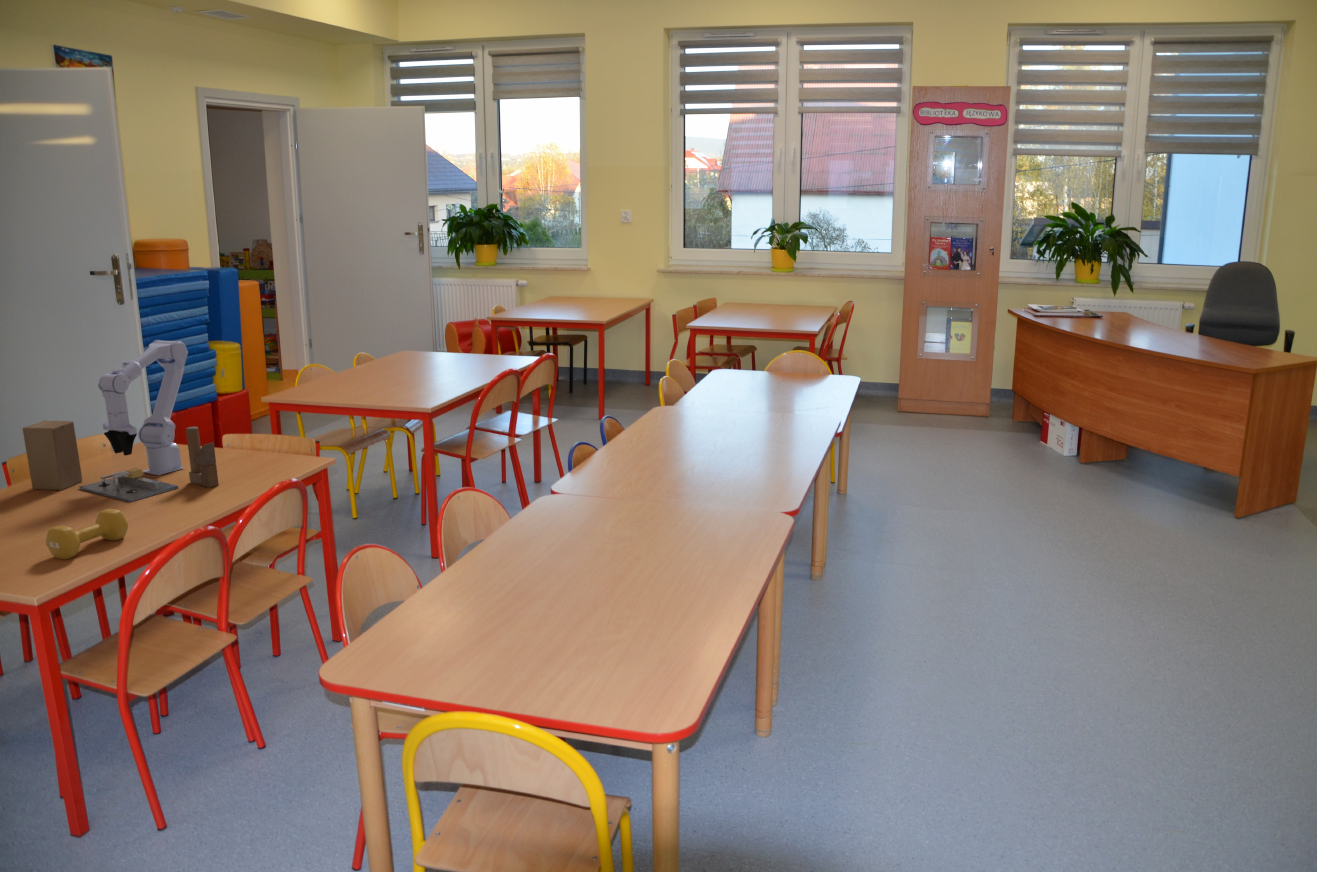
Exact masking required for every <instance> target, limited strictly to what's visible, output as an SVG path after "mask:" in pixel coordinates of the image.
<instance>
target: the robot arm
mask: <svg viewBox="0 0 1317 872" xmlns="http://www.w3.org/2000/svg"><path fill="white" fill-rule="evenodd" d="M188 355H189V350H188V349H187V346H186V344H185V343H184V342H183V341H181V340H177V341H176V340H175V341H174V340H160V339H155V340H154V341H152V342H151V343H150V344H148V348H147V349H145V350H144V351H143V352H142V353H141V354H140V355H139V356H138V357H137V358H136V359H134V360H124V361H123V362H122V364H121V365H120V366H119V367H117V368H116V369H113V370H112V371H111V372H110V373H104V374H103V375H101V377H100V378H99V381H98V383H97V386H98V389H99V391H101V393H102V397H103V398H104V401H105V409H106V414H107V415H106V416H107V422H103V423H102V428H103V430H106V431H105V432H104V433H103V435H104V436H105V437H106V438H107V440H108V441H109V443H110V445H111V447H112V449H113V451H114V454H120V453H123V455H124V456H131V455H132V454H133V446H134V442H135V440H136V438H137V437H138V440H139V441H140V442H141V443H142V444H143V447H145V450H146V457H147V465H148V466H147V467H148V469H145V470H142V473H146V474H149V475H154V476H160V475H165V474H167V473H168V474H169V473H173V472H176V471H180V470H183V469H184V466H182V458H181V451H180V448H179V446H178V444H177V443H175V442H174V440H175V436H176V435H175V430H176V424H175V423H174V422H173V421H172V420H171V418H172V414H173V409H174V406H175V404H176V400H177V398H178V397H177V396H178V393H179V389H180V386H181V382H182V380H183V375H184V372H185V366H186V361H187V358H188ZM155 361H156V362H157V363H158V364H159V365H160V367H162V368H163V369H164V374H163V376H162V380H161V384H160V387H159V390H158V394H157V396H156V397H157V398H156V401H155V404H154V408H153V411H152V414H151V415H150V416H149V417H147V418H145V419H144V421H143V424H142V425H141V427H140V428H139V430H137V427H135V426H134V425H132V424H131V423H130V419H129V411H128V403H127V396H126V392H127V391H128V389H129V386H130V384H131V383H132V382H133V381H135V380H136V379H137V378H138V377H140V376H141V375H142V373H143V371H142V370H143V369H145V368H146V367H148V366H149V365H151V364H153V363H154V362H155ZM137 431H138V432H137ZM137 435H138V436H137Z"/></svg>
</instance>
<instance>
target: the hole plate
mask: <svg viewBox="0 0 1317 872" xmlns="http://www.w3.org/2000/svg"><path fill="white" fill-rule="evenodd" d="M122 473H126V470H119V471H117V472H115V471H114V472H113V473H111V474H106V475H103V476H100V479H101V480H100V481H99V480H98V481H96V482H93V483H88V484H84V485H80V486H79V488H78V489H79V490H81V491H85V492H89V493H92V494H96V495H101V496H105V497H109V498H113V499H117V500H120V501H125V502H128V503H132V502H135V501H139V500H142V499H146V498H149V497H152V496H157V495H160V494H163V493H166V492H170V491H173V490H177V489H179V485H176V484H172V483H169V482H165V481H164V482H163V481H159V480H155V479H151V478H146V477H143V476H140V477H136V478H129V477H127V475H126V476H122V477H118V483H119V487H116V485H115V479H114V478H113V476H115V475H119V474H122Z"/></svg>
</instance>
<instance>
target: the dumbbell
mask: <svg viewBox="0 0 1317 872" xmlns="http://www.w3.org/2000/svg"><path fill="white" fill-rule="evenodd" d="M128 529H129V522H128V520H127V518H126V517H125V515H124V514H123V512H122V511H121V510H119V509H115V508H106V509H103V510H101V511H99V513H98V514H97V516H96V519H95V523H94V524H92V525H91V524H90V525H88V526H85V527H82V528H80V529H77V530H74V529H73V528H72V527H70V526H65V525H57V526H54V527H51V528H49V530H48V531H47V535H46V538H45V545H46V547H47V549H48V550H49V552H50V554H51V556H53V557H54V558H56V559H59V560H69V559H72V558H74V557H75V556H76V555H78V553H79V550H80V547H81V544H82V543H84V542H87V541H90V540H92V539H95V538H98V537H101V538H102V539H104V540H108V541H119V540H122V539H124V538H125V537H126V534H127V532H128Z"/></svg>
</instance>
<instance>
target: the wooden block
mask: <svg viewBox="0 0 1317 872" xmlns="http://www.w3.org/2000/svg"><path fill="white" fill-rule="evenodd" d="M74 423H75V422H74V421H72V420H42V421H39V422H37V423H33V424H30V425H28V426H24V427H22V433H23V434H22V435H23V440H24V445H25V446H24V447H25V451H26V457H27V463H28V469H29V475H30V481H31V482H30V483H31V487H32V490H43V491H45V490H47V491H63V490H65V489H68V488H69V487H72V486H74V485H76V484H79V483H81V482H83V475H82V468H81V462H80V456H79V447H78V443H77V442H78V441H77V436H76V435H77V434H76V429H75V424H74Z"/></svg>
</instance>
